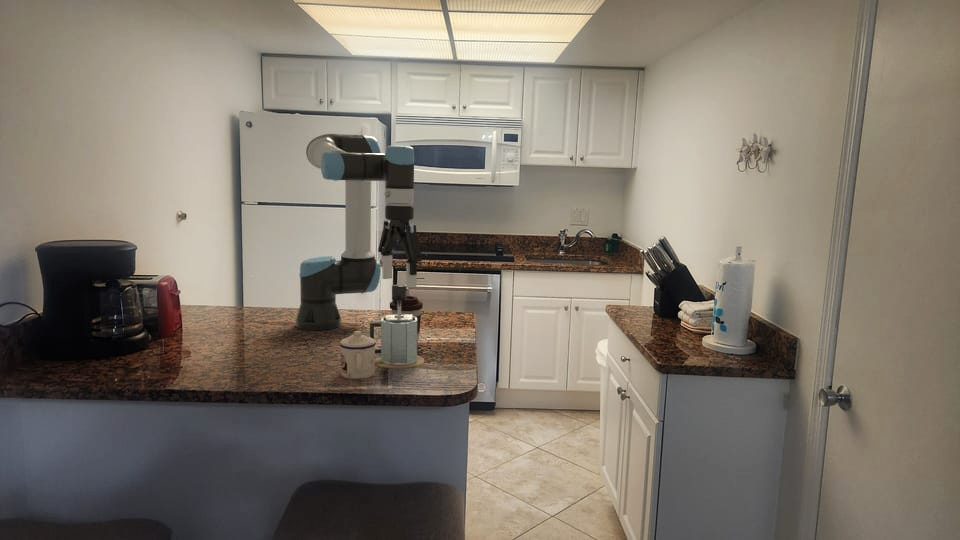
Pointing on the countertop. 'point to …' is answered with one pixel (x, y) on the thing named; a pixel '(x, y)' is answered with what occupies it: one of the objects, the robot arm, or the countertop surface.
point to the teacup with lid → (357, 356)
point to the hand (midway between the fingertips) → (398, 282)
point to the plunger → (399, 296)
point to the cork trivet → (379, 363)
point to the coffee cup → (409, 309)
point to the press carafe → (397, 339)
